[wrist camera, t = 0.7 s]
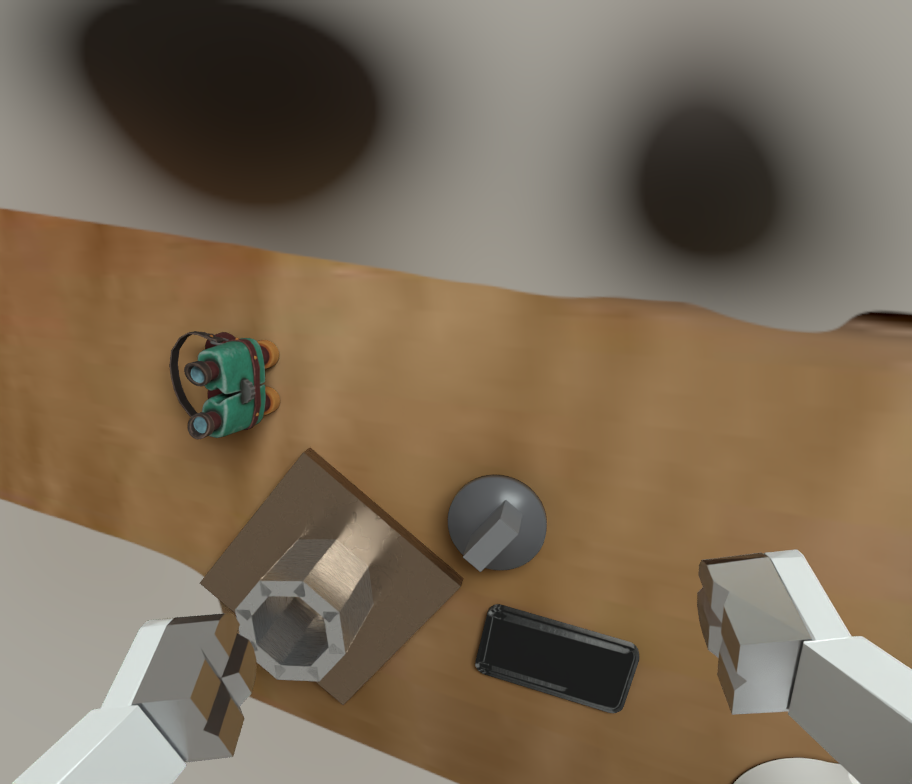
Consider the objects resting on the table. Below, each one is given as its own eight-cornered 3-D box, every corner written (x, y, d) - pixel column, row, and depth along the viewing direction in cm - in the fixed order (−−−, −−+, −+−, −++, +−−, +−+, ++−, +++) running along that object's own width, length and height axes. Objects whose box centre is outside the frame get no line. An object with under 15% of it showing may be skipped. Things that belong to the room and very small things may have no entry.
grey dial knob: (567, 510, 59) (566, 545, 52) (505, 572, 62) (496, 612, 55) (494, 448, 59) (483, 475, 52) (435, 512, 62) (417, 545, 55)
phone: (489, 605, 62) (642, 650, 60) (490, 599, 63) (641, 643, 61) (472, 671, 64) (620, 717, 62) (474, 664, 65) (619, 709, 63)
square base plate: (463, 578, 63) (443, 636, 54) (348, 695, 69) (312, 764, 60) (310, 447, 62) (264, 483, 53) (207, 575, 68) (150, 627, 59)
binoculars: (114, 339, 53) (217, 351, 50) (199, 324, 63) (288, 333, 60) (123, 441, 55) (222, 457, 52) (203, 411, 65) (290, 423, 62)
